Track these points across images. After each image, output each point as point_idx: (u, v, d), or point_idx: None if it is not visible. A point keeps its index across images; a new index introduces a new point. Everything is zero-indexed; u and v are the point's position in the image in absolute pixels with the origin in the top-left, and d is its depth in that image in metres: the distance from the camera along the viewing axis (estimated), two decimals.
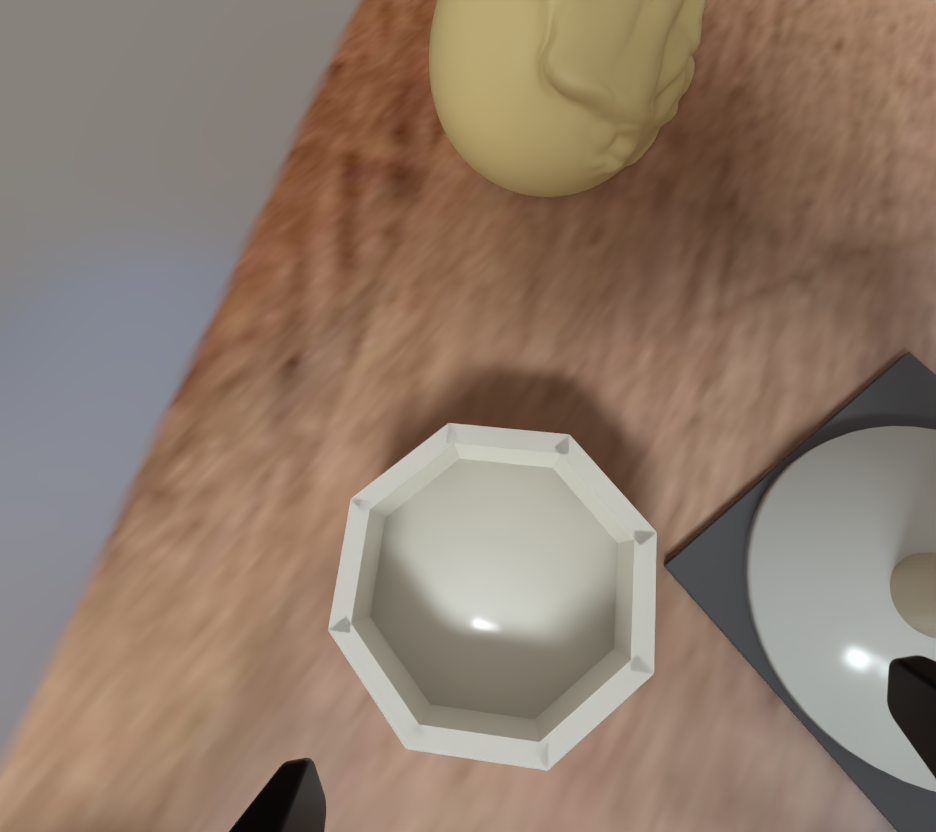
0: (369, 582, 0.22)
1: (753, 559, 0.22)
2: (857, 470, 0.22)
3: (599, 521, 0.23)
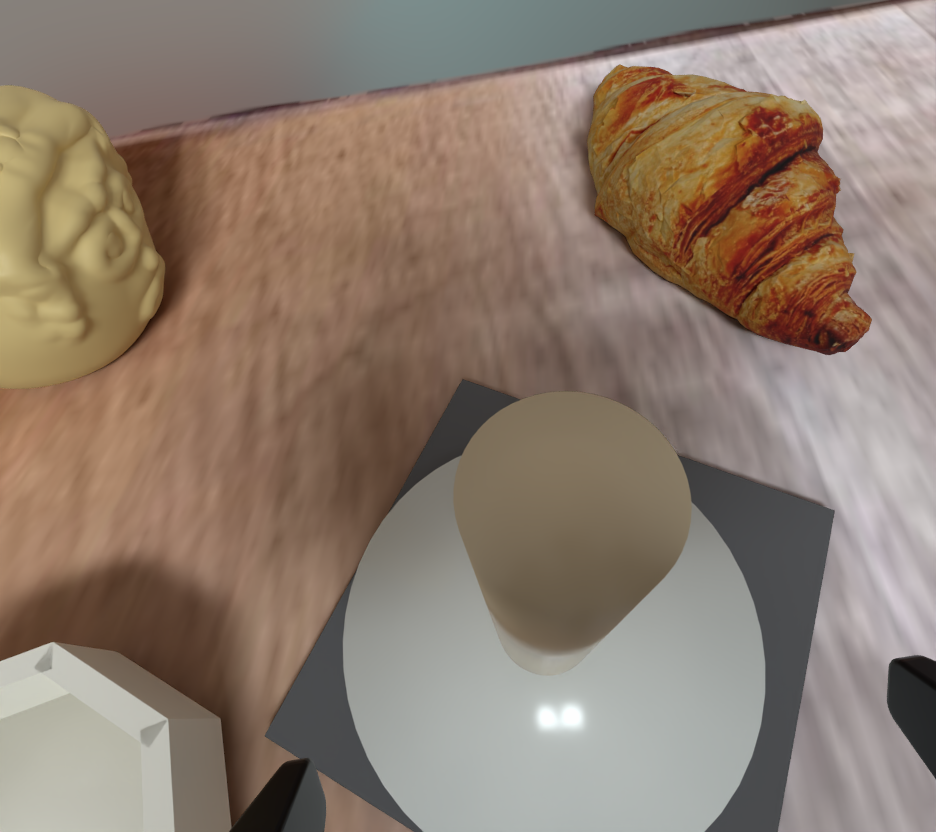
0: None
1: (348, 679, 0.18)
2: (432, 520, 0.20)
3: None
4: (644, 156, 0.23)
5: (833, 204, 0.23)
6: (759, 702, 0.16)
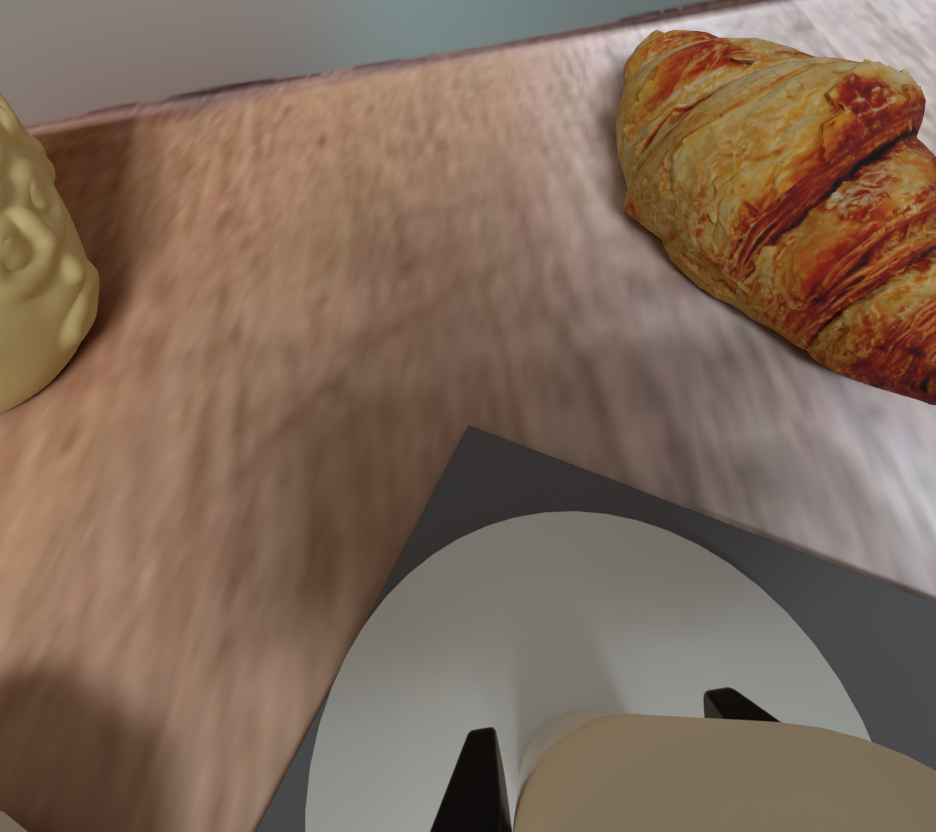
0: None
1: None
2: (430, 628, 0.15)
3: None
4: (694, 140, 0.18)
5: None
6: None
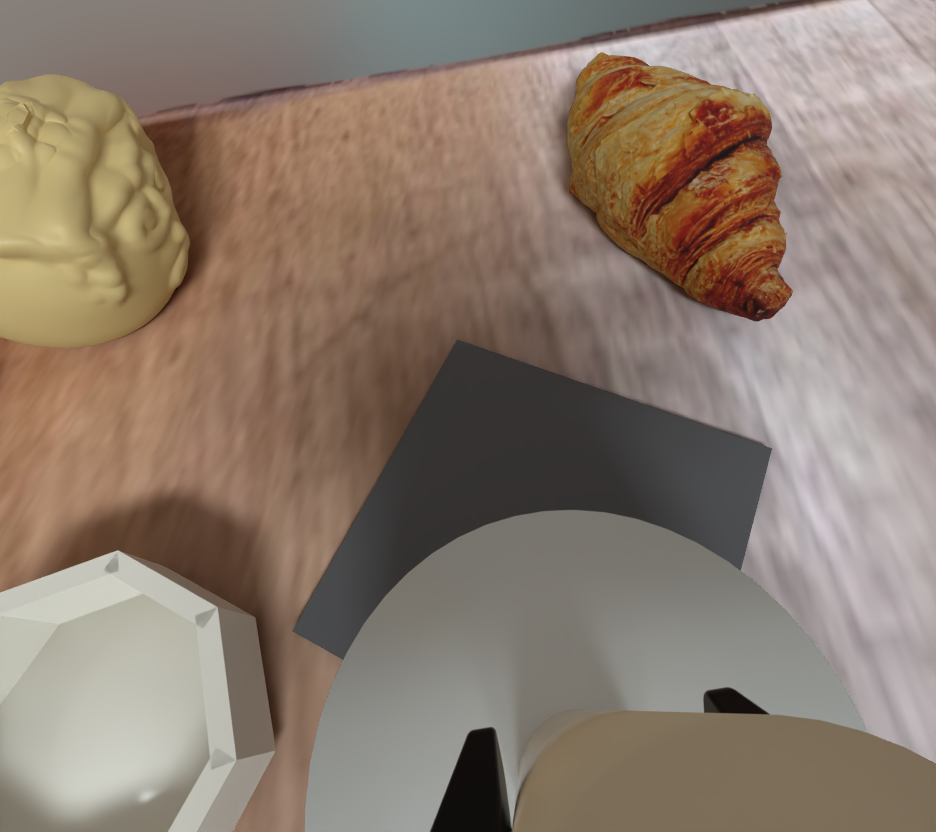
0: None
1: None
2: (429, 627, 0.15)
3: None
4: (608, 141, 0.26)
5: (772, 188, 0.26)
6: None
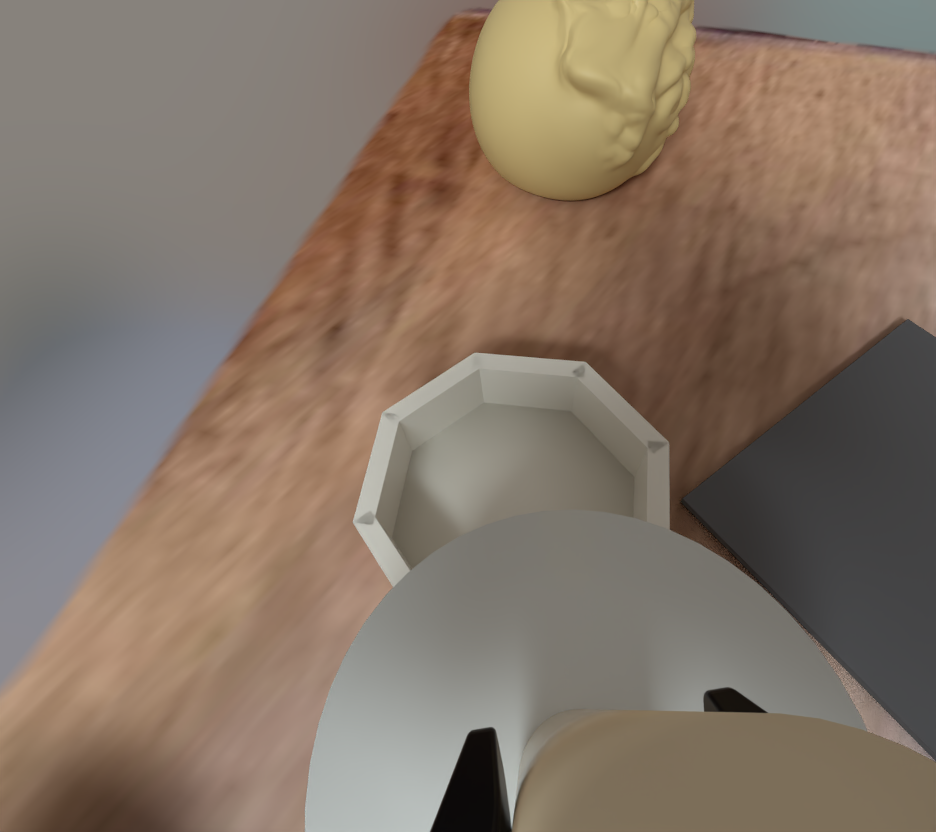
0: (393, 498, 0.23)
1: None
2: (429, 626, 0.15)
3: (615, 456, 0.24)
4: None
5: None
6: None
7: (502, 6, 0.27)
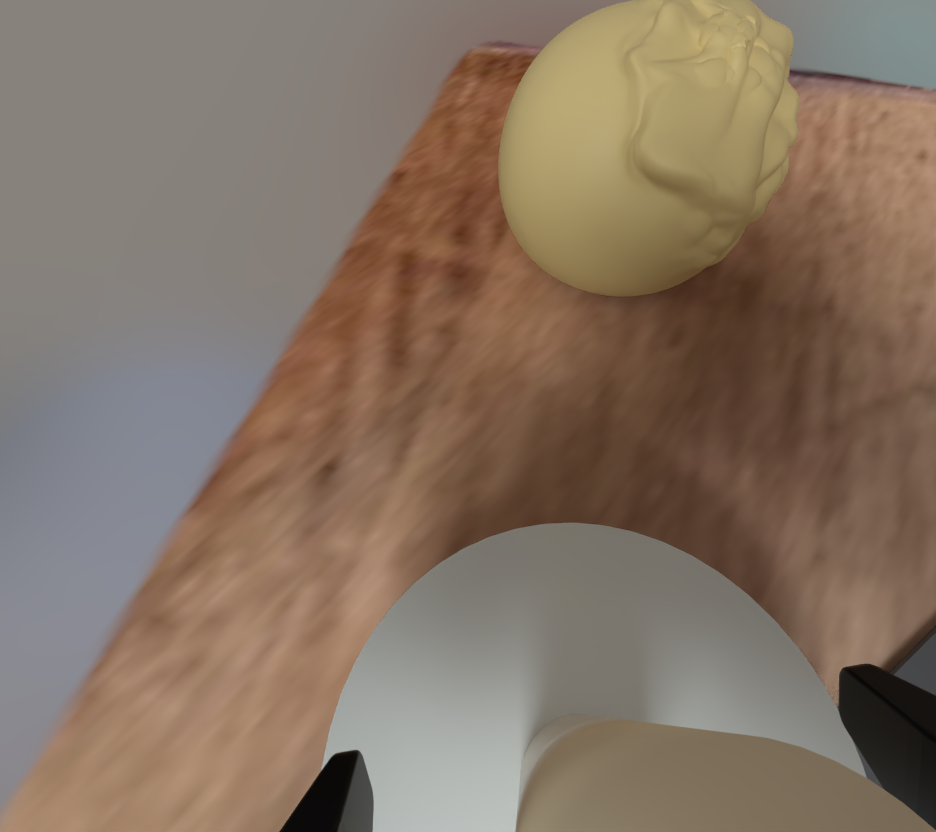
0: None
1: None
2: (435, 635, 0.16)
3: None
4: None
5: None
6: None
7: (547, 64, 0.20)
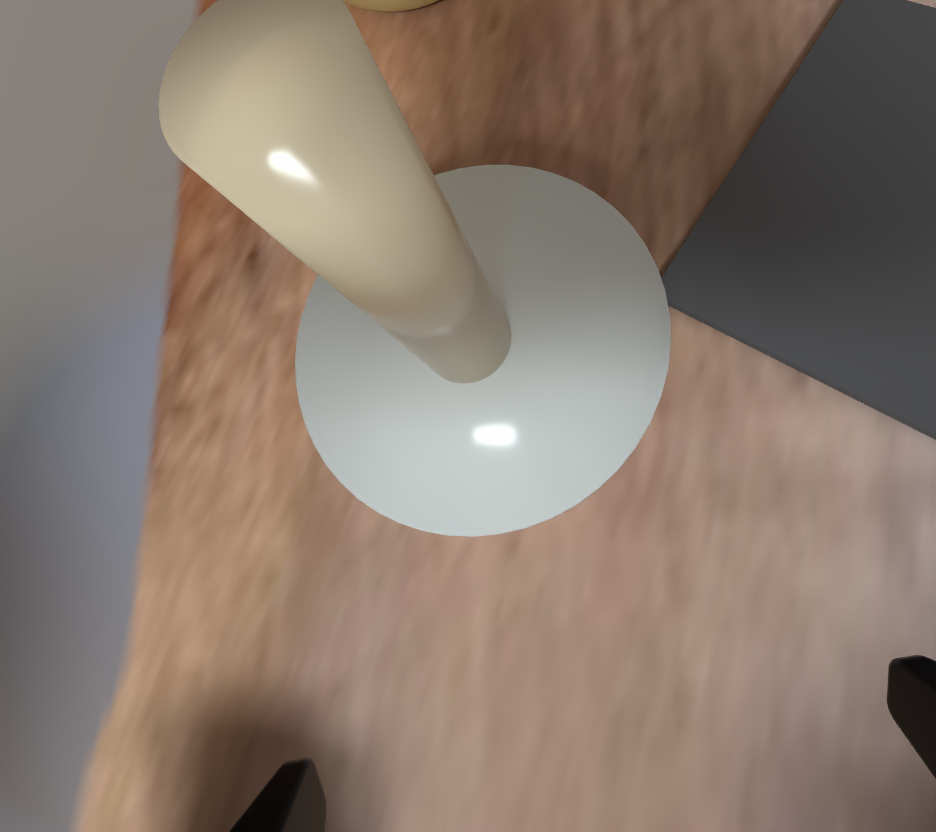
0: None
1: (321, 451, 0.20)
2: (344, 298, 0.21)
3: None
4: None
5: None
6: (665, 325, 0.17)
7: None
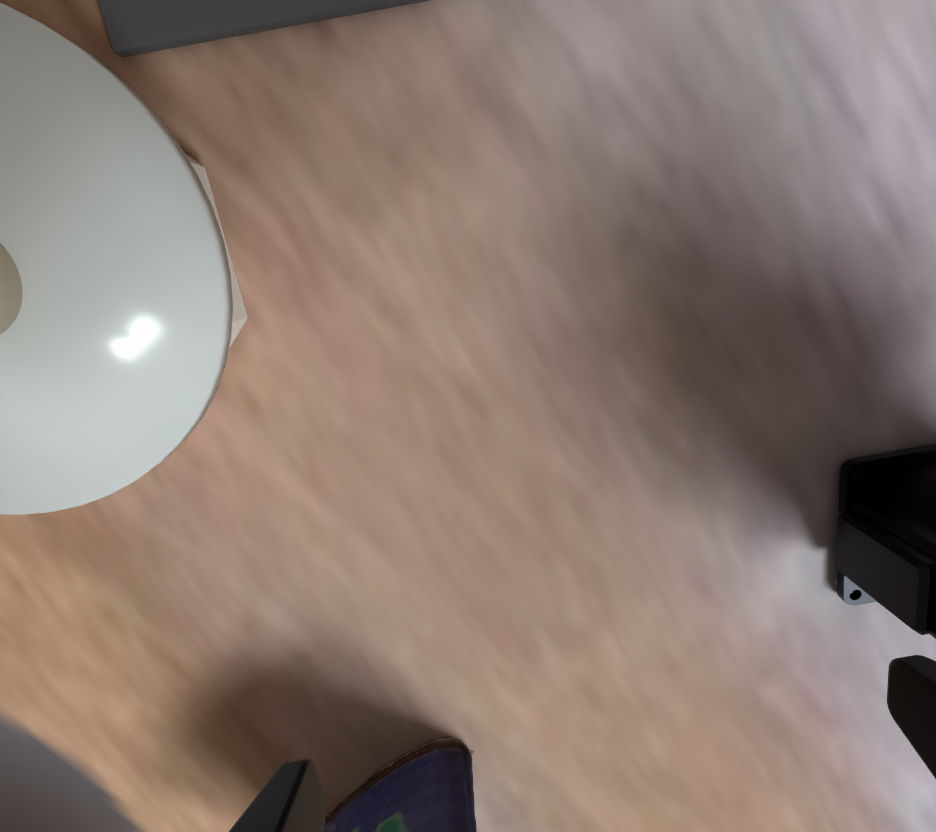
0: None
1: None
2: None
3: None
4: None
5: None
6: (113, 86, 0.13)
7: None
